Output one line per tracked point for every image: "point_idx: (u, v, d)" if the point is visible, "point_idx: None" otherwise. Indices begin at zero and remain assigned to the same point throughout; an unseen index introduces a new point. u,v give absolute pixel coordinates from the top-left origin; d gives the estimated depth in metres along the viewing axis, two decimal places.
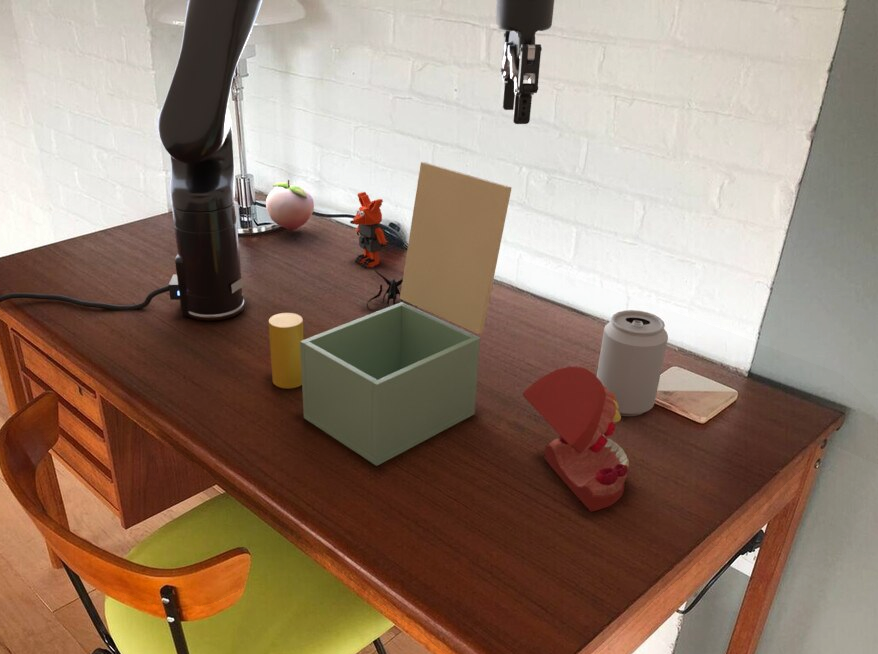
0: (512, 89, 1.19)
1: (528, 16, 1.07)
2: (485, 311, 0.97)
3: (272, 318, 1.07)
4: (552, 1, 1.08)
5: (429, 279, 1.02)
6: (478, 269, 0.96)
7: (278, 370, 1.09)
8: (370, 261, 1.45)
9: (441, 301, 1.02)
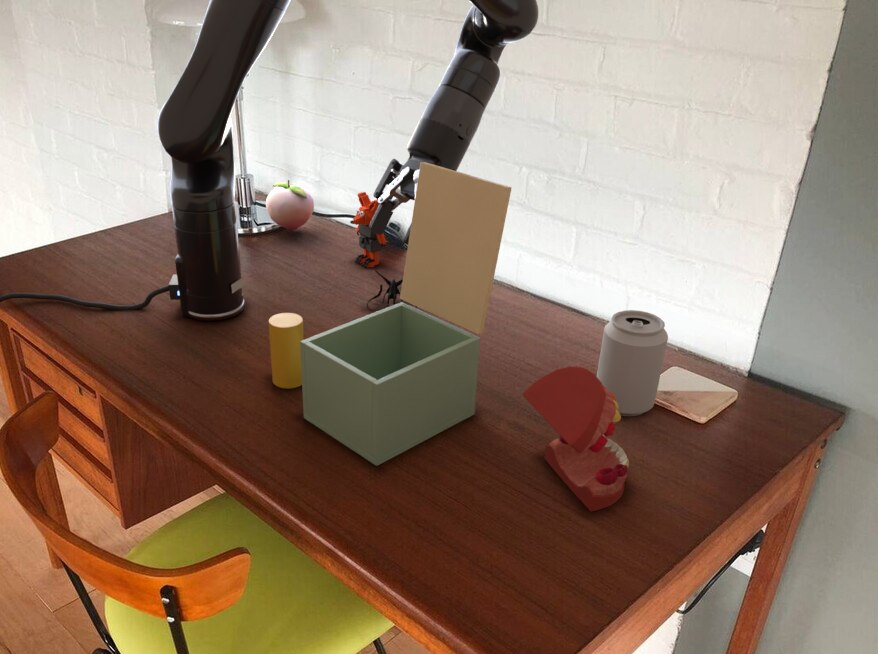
0: (385, 214, 1.16)
1: (452, 152, 1.09)
2: (485, 311, 0.97)
3: (272, 318, 1.07)
4: None
5: (429, 279, 1.02)
6: (478, 269, 0.96)
7: (278, 370, 1.09)
8: (370, 261, 1.45)
9: (441, 301, 1.02)
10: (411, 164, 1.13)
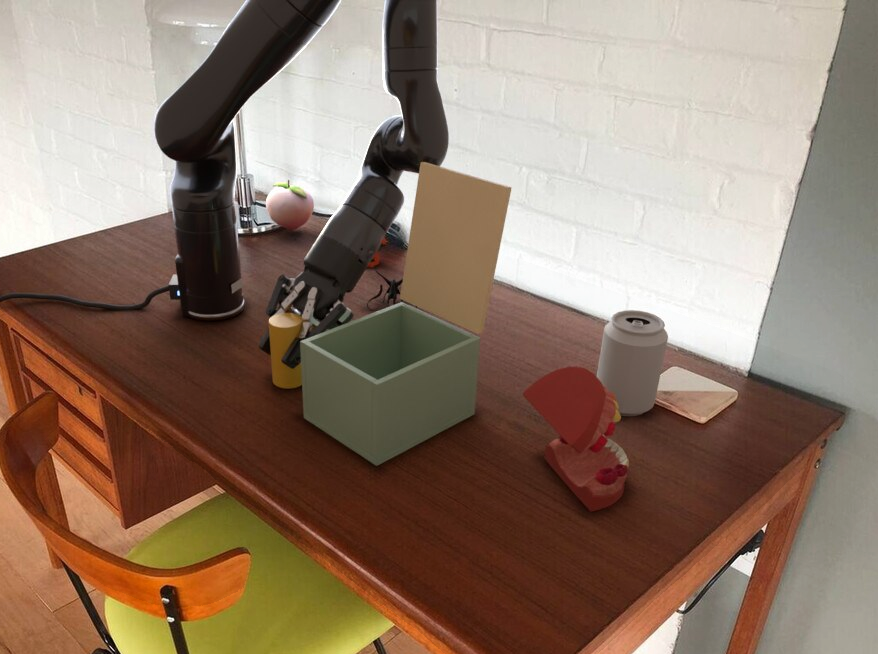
0: None
1: (351, 274, 1.06)
2: (485, 311, 0.97)
3: (272, 318, 1.07)
4: None
5: (429, 279, 1.02)
6: (478, 269, 0.96)
7: (278, 370, 1.09)
8: None
9: (441, 301, 1.02)
10: (306, 278, 1.09)
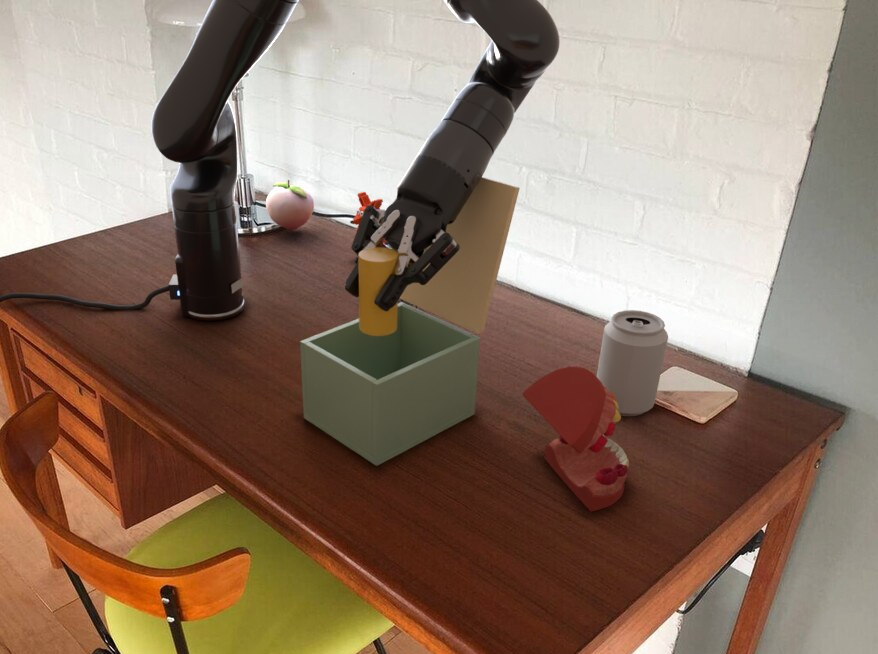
0: None
1: (455, 200, 0.91)
2: (486, 311, 0.98)
3: (362, 253, 0.92)
4: None
5: (431, 279, 1.03)
6: (481, 268, 0.97)
7: (368, 314, 0.93)
8: None
9: (442, 301, 1.02)
10: (400, 207, 0.94)
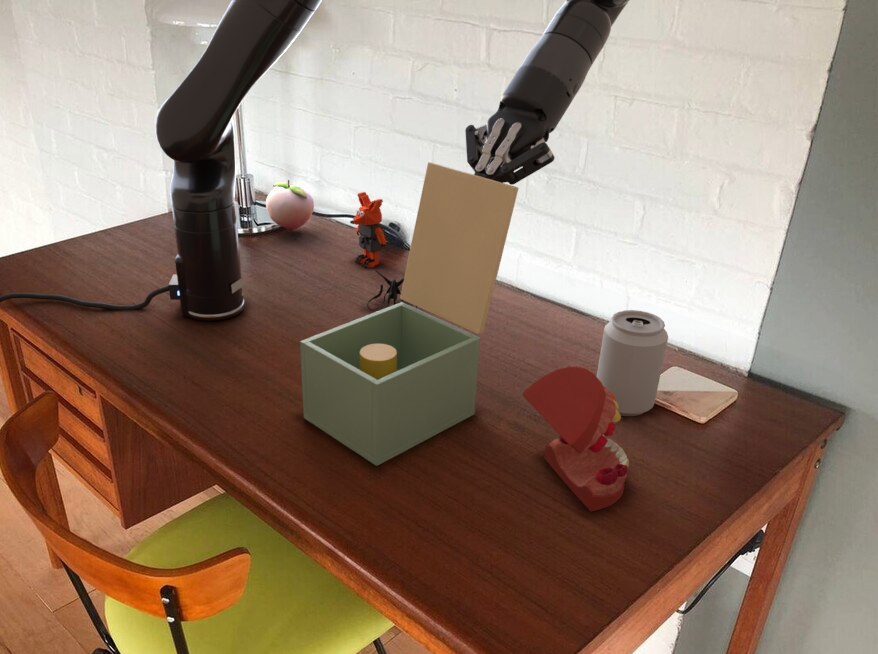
0: None
1: (558, 108, 0.97)
2: (486, 311, 0.97)
3: (363, 350, 0.98)
4: None
5: (431, 279, 1.03)
6: (481, 268, 0.97)
7: None
8: (370, 261, 1.45)
9: (442, 301, 1.02)
10: (503, 117, 1.00)
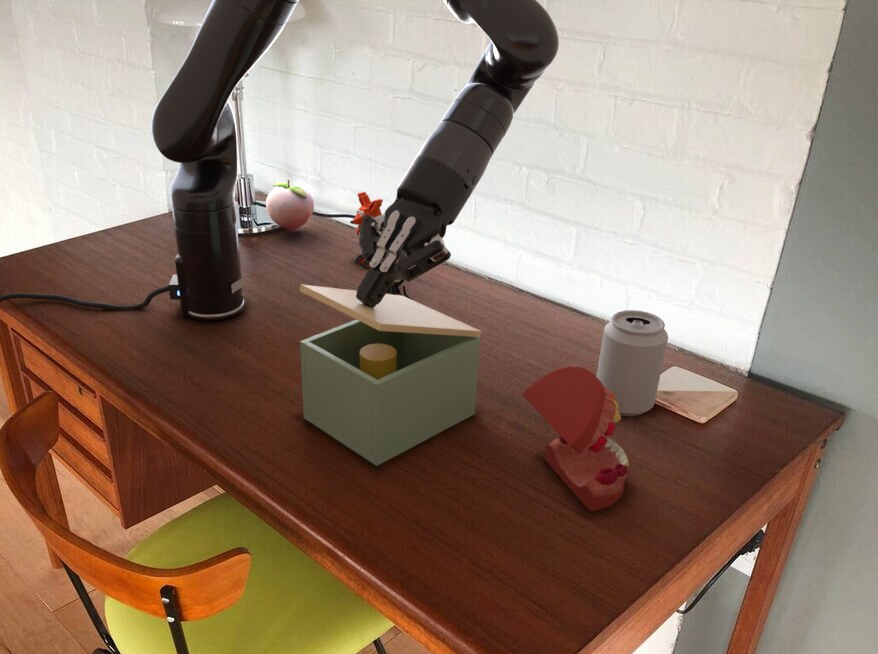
0: None
1: (455, 201, 0.91)
2: (466, 333, 0.96)
3: (363, 350, 0.98)
4: None
5: None
6: None
7: None
8: None
9: None
10: (399, 208, 0.94)
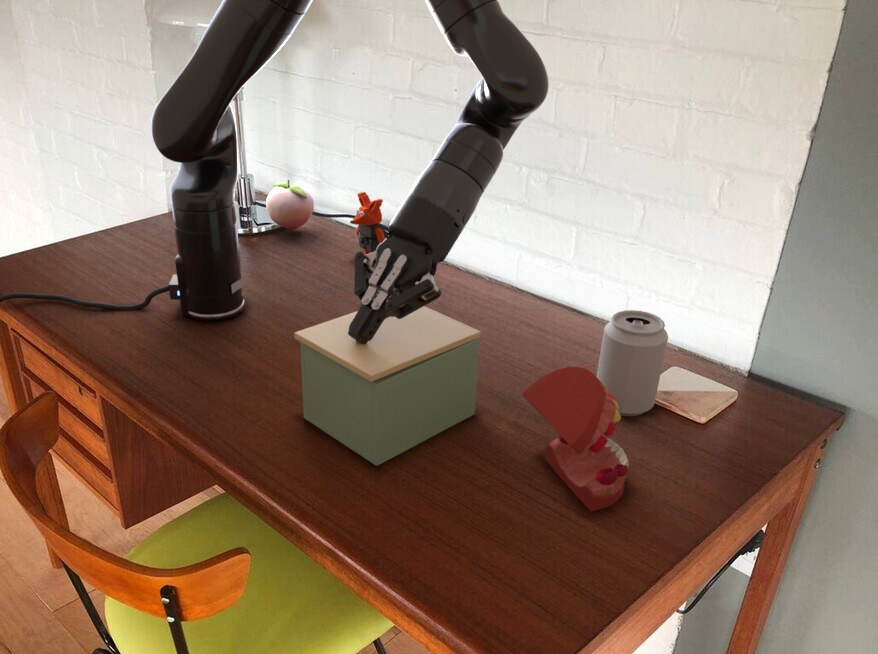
0: None
1: (446, 240, 0.92)
2: (464, 340, 0.97)
3: None
4: None
5: None
6: None
7: None
8: None
9: None
10: (391, 246, 0.95)
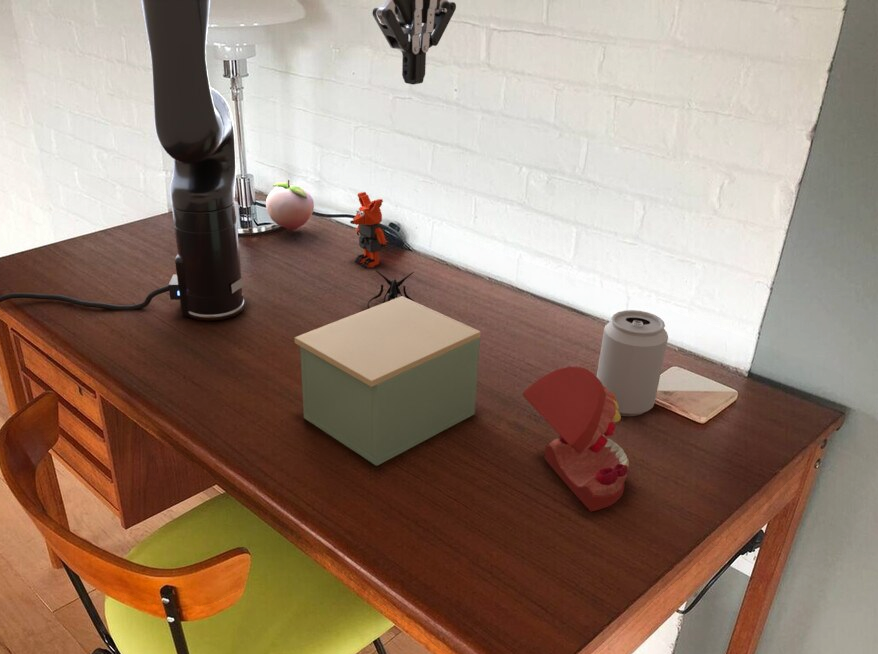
0: None
1: None
2: (464, 341, 0.97)
3: None
4: None
5: None
6: None
7: None
8: (370, 261, 1.45)
9: None
10: None
